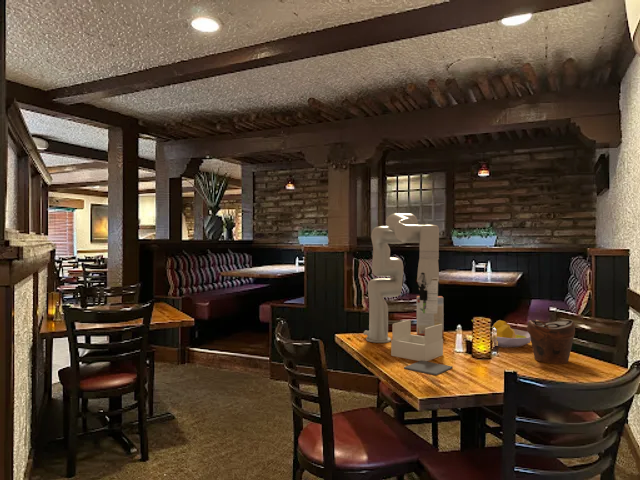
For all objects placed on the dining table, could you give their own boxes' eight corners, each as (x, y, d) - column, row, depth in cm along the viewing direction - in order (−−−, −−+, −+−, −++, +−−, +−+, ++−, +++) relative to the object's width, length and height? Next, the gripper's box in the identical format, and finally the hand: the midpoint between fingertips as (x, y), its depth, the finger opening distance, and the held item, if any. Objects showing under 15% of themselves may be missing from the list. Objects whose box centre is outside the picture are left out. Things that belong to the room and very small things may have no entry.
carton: (391, 355, 208) (391, 324, 208) (410, 349, 221) (410, 319, 221) (424, 362, 198) (425, 328, 198) (442, 354, 210) (443, 323, 210)
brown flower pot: (516, 357, 207) (517, 316, 206) (549, 353, 214) (550, 314, 214) (549, 368, 190) (550, 324, 190) (585, 363, 198) (586, 321, 197)
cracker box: (442, 333, 258) (442, 295, 258) (443, 336, 252) (444, 297, 252) (416, 333, 259) (416, 295, 259) (417, 335, 253) (417, 296, 253)
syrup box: (419, 311, 191) (419, 275, 191) (433, 311, 191) (433, 275, 191) (423, 313, 185) (423, 277, 185) (438, 313, 186) (438, 277, 185)
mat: (404, 368, 187) (404, 367, 187) (421, 361, 198) (421, 360, 198) (436, 375, 178) (436, 373, 178) (452, 368, 189) (452, 366, 189)
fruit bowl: (541, 344, 233) (541, 321, 233) (519, 353, 214) (519, 328, 214) (487, 336, 253) (487, 315, 253) (462, 343, 233) (462, 321, 233)
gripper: (430, 254, 197) (430, 296, 197) (409, 255, 184) (409, 300, 184) (447, 255, 192) (447, 298, 192) (427, 256, 179) (426, 302, 179)
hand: (428, 299), depth 188 cm, fingers closed on syrup box, 8 cm apart
